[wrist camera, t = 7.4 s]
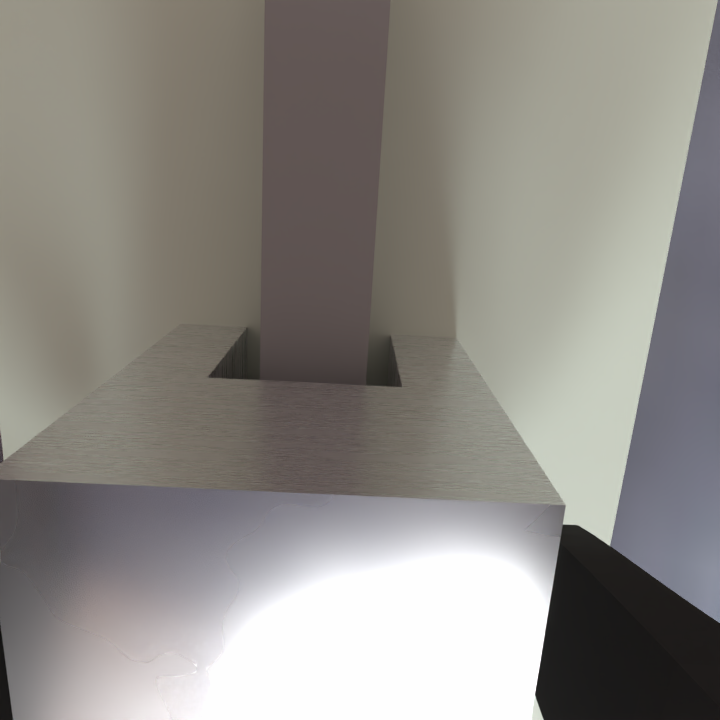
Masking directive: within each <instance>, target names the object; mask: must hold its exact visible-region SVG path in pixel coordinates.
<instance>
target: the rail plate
mask: <svg viewBox="0 0 720 720" xmlns="http://www.w3.org/2000/svg"><path fill="white" fill-rule="evenodd" d="M717 2H718V0H0V431H1V440H2V449H3V458H4V460H5V459H7V458H8V457H9V456H11V455H12V454H13V453H14V452H16V451H17V450H18V449H20V448H21V447H22V446H23V445H25V444H26V443H27V442H29V441H30V440H31V439H32V438H34V437H35V436H36V435H38V434H39V433H40V432H41V431H43V430H44V429H45V428H47V427H48V426H49V425H51V424H52V423H53V422H54V421H56V420H57V419H58V418H60V417H61V416H62V415H63V414H65V413H66V412H67V411H69V410H70V409H71V408H72V407H74V406H75V405H76V404H78V403H79V402H80V401H81V400H83V399H84V398H85V397H87V396H88V395H89V394H90V393H92V392H93V391H94V390H96V389H97V388H98V387H99V386H101V385H102V384H103V383H105V382H106V381H107V380H109V379H110V378H111V377H112V376H114V375H115V374H116V373H118V372H119V371H120V370H121V369H123V368H124V367H125V366H127V365H128V364H129V363H130V362H132V361H133V360H134V359H136V358H137V357H138V356H139V355H141V354H142V353H143V352H145V351H146V350H147V349H148V348H150V347H151V346H152V345H154V344H155V343H156V342H157V341H159V340H160V339H161V338H163V337H164V336H165V335H167V334H168V333H169V332H170V331H172V330H173V329H174V328H176V327H177V326H178V325H179V324H198V325H218V326H237V327H247V380H267V381H287V382H308V383H328V384H348V385H369V386H387V380H388V365H389V351H390V336H391V334H395V335H415V336H435V337H455V338H457V339H458V341H459V342H460V344H461V345H462V347H463V348H464V350H465V351H466V353H467V355H468V356H469V358H470V359H471V361H472V362H473V364H474V365H475V367H476V368H477V370H478V371H479V373H480V374H481V376H482V377H483V379H484V381H485V382H486V384H487V385H488V387H489V388H490V390H491V391H492V393H493V394H494V396H495V397H496V399H497V400H498V402H499V404H500V405H501V407H502V408H503V410H504V411H505V413H506V414H507V416H508V417H509V419H510V420H511V422H512V423H513V425H514V426H515V428H516V430H517V431H518V433H519V434H520V436H521V437H522V439H523V440H524V442H525V443H526V445H527V446H528V448H529V449H530V451H531V452H532V454H533V456H534V457H535V459H536V460H537V462H538V463H539V465H540V466H541V468H542V469H543V471H544V472H545V474H546V475H547V477H548V479H549V480H550V482H551V483H552V485H553V486H554V488H555V489H556V491H557V492H558V494H559V495H560V497H561V498H562V500H563V501H564V503H565V505H566V508H565V514H564V520H563V524H565V525H578V526H580V527H582V528H583V529H585V530H587V531H588V532H590V533H591V534H593V535H594V536H596V537H597V538H599V539H600V540H602V541H603V542H605V543H606V544H608V545H609V546H610V543H611V538H612V533H613V528H614V523H615V518H616V513H617V507H618V502H619V497H620V492H621V487H622V482H623V477H624V472H625V467H626V462H627V457H628V452H629V447H630V442H631V437H632V432H633V427H634V421H635V416H636V411H637V406H638V401H639V396H640V391H641V386H642V381H643V376H644V371H645V366H646V361H647V356H648V351H649V346H650V341H651V335H652V330H653V325H654V320H655V315H656V310H657V305H658V300H659V295H660V290H661V285H662V280H663V275H664V270H665V265H666V260H667V255H668V250H669V244H670V239H671V234H672V229H673V224H674V219H675V214H676V209H677V204H678V199H679V194H680V189H681V184H682V179H683V174H684V169H685V164H686V158H687V153H688V148H689V143H690V138H691V133H692V128H693V123H694V118H695V113H696V108H697V103H698V98H699V93H700V88H701V83H702V78H703V72H704V67H705V62H706V57H707V52H708V47H709V42H710V37H711V32H712V27H713V22H714V17H715V12H716V7H717ZM531 720H544V719H543V717H542V714H541V711H540V708H539V706H538V703H537V700H536V696H534V702H533V708H532V714H531Z"/></svg>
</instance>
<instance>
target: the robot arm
mask: <svg viewBox="0 0 720 720" xmlns="http://www.w3.org/2000/svg"><path fill="white" fill-rule="evenodd" d="M535 696H536V700H537V703H538V706H539V708H540V711H541V714H542V717H543V719H544V720H720V623H718V622H717V621H715V620H714V619H713V618H711V617H710V616H708V615H707V614H705V613H704V612H702V611H701V610H699V609H698V608H696V607H695V606H693V605H692V604H691V603H689V602H688V601H686V600H685V599H683V598H682V597H680V596H679V595H678V594H676V593H675V592H673V591H672V590H671V589H669V588H668V587H666V586H665V585H663V584H662V583H661V582H659V581H658V580H656V579H655V578H654V577H652V576H651V575H650V574H648V573H647V572H645V571H644V570H643V569H641V568H640V567H638V566H637V565H636V564H634V563H633V562H631V561H630V560H629V559H627V558H626V557H625V556H623V555H622V554H620V553H619V552H618V551H616V550H615V549H613V548H612V547H610V546H609V545H608V544H606V543H605V542H603V541H602V540H600V539H599V538H597V537H596V536H594V535H593V534H591V533H590V532H588V531H587V530H585V529H583V528H582V527H580V526H578V525H565V524H563V526H562V532H561V538H560V544H559V550H558V556H557V562H556V568H555V575H554V581H553V587H552V593H551V599H550V605H549V611H548V617H547V623H546V629H545V635H544V641H543V647H542V653H541V659H540V665H539V672H538V678H537V684H536V690H535ZM0 720H13V715H12V707H11V700H10V692H9V685H8V677H7V670H6V663H5V655H4V648H3V640H2V633H1V625H0Z"/></svg>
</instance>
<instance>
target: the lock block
mask: <svg viewBox="0 0 720 720" xmlns="http://www.w3.org/2000/svg"><path fill="white" fill-rule="evenodd" d="M565 508H566V505H565V503H564V501H563V500H562V498H561V497H560V495H559V494H558V492H557V491H556V489H555V488H554V486H553V485H552V483H551V482H550V480H549V479H548V477H547V475H546V474H545V472H544V471H543V469H542V468H541V466H540V465H539V463H538V462H537V460H536V459H535V457H534V456H533V454H532V452H531V451H530V449H529V448H528V446H527V445H526V443H525V442H524V440H523V439H522V437H521V436H520V434H519V433H518V431H517V430H516V428H515V426H514V425H513V423H512V422H511V420H510V419H509V417H508V416H507V414H506V413H505V411H504V410H503V408H502V407H501V405H500V404H499V402H498V400H497V399H496V397H495V396H494V394H493V393H492V391H491V390H490V388H489V387H488V385H487V384H486V382H485V381H484V379H483V377H482V376H481V374H480V373H479V371H478V370H477V368H476V367H475V365H474V364H473V362H472V361H471V359H470V358H469V356H468V355H467V353H466V351H465V350H464V348H463V347H462V345H461V344H460V342H459V341H458V339H457V338H455V337H435V336H415V335H395V334H391V336H390V351H389V365H388V380H387V386H369V385H348V384H328V383H308V382H287V381H267V380H247V327H237V326H218V325H198V324H179V325H178V326H177V327H176V328H174V329H173V330H172V331H170V332H169V333H168V334H167V335H165V336H164V337H163V338H161V339H160V340H159V341H157V342H156V343H155V344H154V345H152V346H151V347H150V348H148V349H147V350H146V351H145V352H143V353H142V354H141V355H139V356H138V357H137V358H136V359H134V360H133V361H132V362H130V363H129V364H128V365H127V366H125V367H124V368H123V369H121V370H120V371H119V372H118V373H116V374H115V375H114V376H112V377H111V378H110V379H109V380H107V381H106V382H105V383H103V384H102V385H101V386H99V387H98V388H97V389H96V390H94V391H93V392H92V393H90V394H89V395H88V396H87V397H85V398H84V399H83V400H81V401H80V402H79V403H78V404H76V405H75V406H74V407H72V408H71V409H70V410H69V411H67V412H66V413H65V414H63V415H62V416H61V417H60V418H58V419H57V420H56V421H54V422H53V423H52V424H51V425H49V426H48V427H47V428H45V429H44V430H43V431H41V432H40V433H39V434H38V435H36V436H35V437H34V438H32V439H31V440H30V441H29V442H27V443H26V444H25V445H23V446H22V447H21V448H20V449H18V450H17V451H16V452H14V453H13V454H12V455H11V456H9V457H8V458H7V459H5V460H4V461H3V462H2V463H0V625H1V633H2V640H3V648H4V655H5V663H6V670H7V677H8V685H9V692H10V700H11V707H12V715H13V720H531V714H532V708H533V702H534V696H535V690H536V684H537V678H538V672H539V665H540V659H541V653H542V647H543V641H544V635H545V629H546V623H547V617H548V611H549V605H550V599H551V593H552V587H553V581H554V575H555V568H556V562H557V556H558V550H559V544H560V538H561V532H562V526H563V520H564V514H565Z"/></svg>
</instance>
